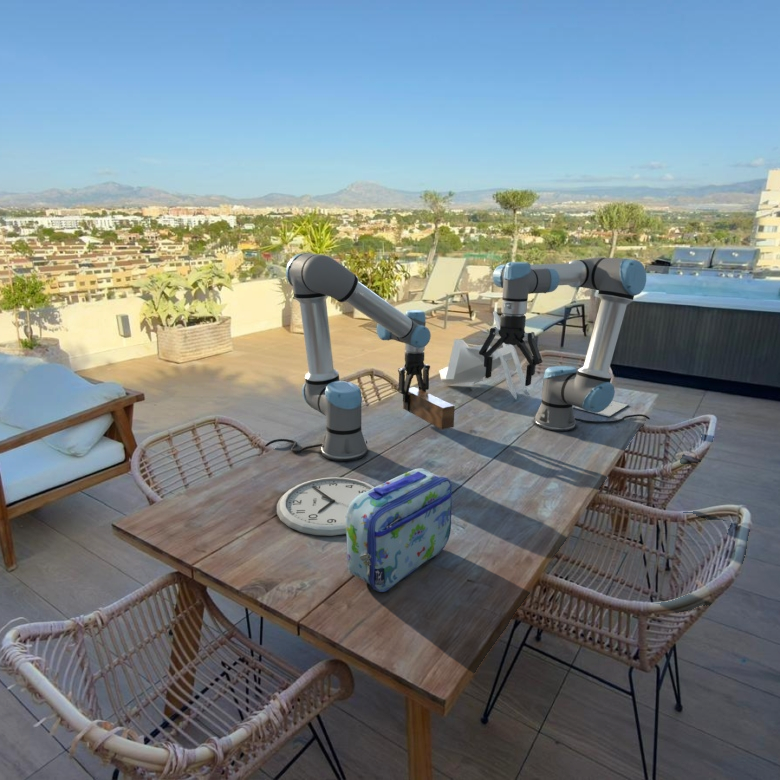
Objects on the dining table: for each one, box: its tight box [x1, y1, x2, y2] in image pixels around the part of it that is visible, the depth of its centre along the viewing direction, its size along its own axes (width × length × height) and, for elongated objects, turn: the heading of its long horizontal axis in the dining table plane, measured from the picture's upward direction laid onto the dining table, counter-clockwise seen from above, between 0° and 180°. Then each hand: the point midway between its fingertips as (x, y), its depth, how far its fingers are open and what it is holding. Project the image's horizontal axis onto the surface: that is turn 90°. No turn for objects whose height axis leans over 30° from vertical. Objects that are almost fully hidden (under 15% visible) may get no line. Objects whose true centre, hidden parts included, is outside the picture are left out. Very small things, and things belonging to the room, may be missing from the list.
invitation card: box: [573, 400, 629, 418], centre depth 226 cm, size 21×1×15 cm
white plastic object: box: [438, 310, 531, 400], centre depth 245 cm, size 37×45×31 cm
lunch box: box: [345, 467, 453, 593], centre depth 115 cm, size 26×11×21 cm, turn 135°
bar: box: [402, 386, 455, 430], centre depth 198 cm, size 26×5×8 cm, turn 31°
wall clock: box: [276, 476, 376, 537], centre depth 142 cm, size 30×2×30 cm
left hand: (413, 408), depth 206 cm, fingers closed on bar, 5 cm apart
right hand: (507, 381), depth 166 cm, fingers open, 13 cm apart
